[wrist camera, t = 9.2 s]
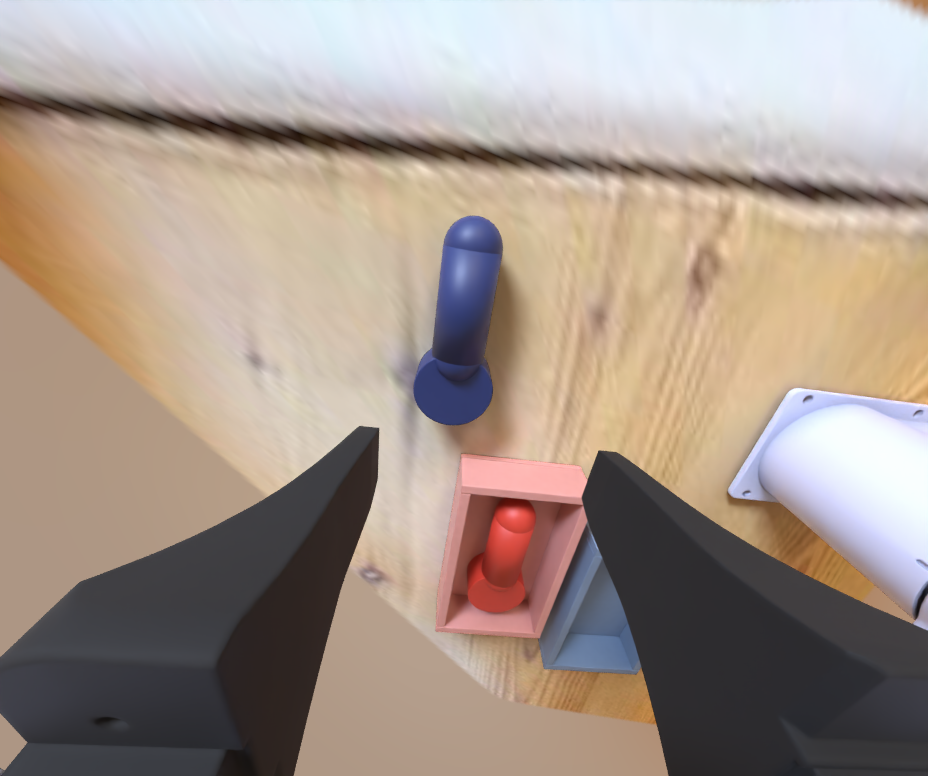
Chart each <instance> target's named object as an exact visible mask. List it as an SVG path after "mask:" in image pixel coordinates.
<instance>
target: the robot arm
mask: <svg viewBox="0 0 928 776" xmlns="http://www.w3.org/2000/svg"><path fill="white" fill-rule="evenodd" d="M378 451H379V428H374V427H364V426H359V427H358V428H356V429H355V430H354V431H353V432H352V433H351V434H350V435H349V436H347V437H346V438H345V439H344V440H343V441H342V442H341V443H339V444H338V445H337V446H336V447H335V448H334V449H333V450H331V451H330V452H329V453H328V454H327V455H325V456H324V457H323V458H322V459H320V460H319V461H318V462H317V463H316V464H314V465H313V466H312V467H310V468H309V469H308V470H306V471H305V472H304V473H302V474H301V475H300V476H298V477H297V478H295V479H294V480H293V481H291V482H290V483H289V484H287V485H286V486H284V487H283V488H281V489H280V490H278V491H277V492H275V493H273V494H272V495H270V496H268V497H267V498H265V499H264V500H262V501H260V502H259V503H257V504H255V505H253V506H252V507H250V508H248V509H246V510H244V511H242V512H240V513H238V514H237V515H235V516H233V517H231V518H229V519H227V520H225V521H223V522H221V523H220V524H218V525H216V526H214V527H212V528H210V529H208V530H205V531H203V532H201V533H199V534H197V535H195V536H193V537H191V538H189V539H186V540H184V541H182V542H179V543H177V544H175V545H173V546H170V547H168V548H166V549H164V550H161V551H159V552H156V553H154V554H151V555H149V556H147V557H144V558H142V559H139V560H136V561H134V562H131V563H129V564H126V565H123V566H121V567H118V568H116V569H113V570H110V571H108V572H105V573H103V574H100V575H97V576H95V577H92V578H89V579H87V580H84V581H81V582H79V583H78V584H77V585H76V586H75V587H74V588H73V589H72V590H70V592H68V594H66V595H65V596H64V597H63V598H62V599H61V600H60V601H59V602H58V603H57V604H56V605H55V606H54V607H53V608H51V609H50V610H49V612H47V613H46V614H45V615H44V616H43V617H42V618H41V619H40V620H39V621H38V622H37V623H36V624H35V625H34V626H33V627H32V628H31V629H29V630H28V631H27V632H26V633H25V634H24V635H23V636H22V637H21V638H20V639H19V640H18V641H17V642H16V643H15V644H14V645H13V646H12V647H11V648H10V649H9V650H8V651H6V652H5V653H4V654H3V655H2V656H1V657H0V713H1V715H2V716H3V717H4V718H5V719H6V720H7V721H8V722H9V723H10V724H11V725H12V726H13V727H14V728H15V729H16V731H17V732H18V733H19V734H20V735H21V736H22V737H23V738H24V739H25V740H26V741H27V742H28V743H27V744H26V745H25V747H24V748H23V749H22V750H21V752H20V753H19V754H18V755H17V756H16V758H15V759H14V760H13V761H12V762H11V764H10V765H9V766H8V767H7V769H6V770H3V769H1V768H0V776H293V775H294V771H295V767H296V763H297V759H298V754H299V751H300V746H301V742H302V738H303V734H304V729H305V725H306V721H307V717H308V713H309V709H310V705H311V701H312V697H313V693H314V689H315V685H316V681H317V677H318V673H319V669H320V665H321V661H322V658H323V653H324V650H325V646H326V642H327V638H328V635H329V631H330V627H331V623H332V619H333V616H334V612H335V608H336V605H337V601H338V597H339V594H340V590H341V587H342V584H343V581H344V578H345V575H346V572H347V570H348V567H349V565H350V562H351V559H352V556H353V554H354V551H355V548H356V546H357V543H358V540H359V538H360V535H361V532H362V530H363V527H364V524H365V522H366V519H367V516H368V514H369V511H370V508H371V504H372V500H373V496H374V492H375V488H376V484H377V479H378ZM728 493H729V494H730V495H731V496H732V497H733V498H739V499H749V500H758V501H768V502H778V503H781V504H782V505H783V506H785V507H786V508H787V509H788V510H789V511H790V512H792V513H793V514H794V515H795V516H796V517H797V518H798V519H800V520H801V521H802V522H803V523H804V524H805V525H806V526H808V527H809V528H810V529H811V530H812V531H813V532H814V533H816V534H817V535H818V536H819V537H820V538H821V539H822V540H824V541H825V542H826V543H827V544H828V545H829V546H830V547H832V548H833V549H834V550H835V551H836V552H837V553H838V554H840V555H841V556H842V557H843V558H844V559H845V560H847V561H848V562H849V563H850V564H851V565H852V566H853V567H855V568H856V569H857V570H858V571H859V572H860V573H861V574H863V575H864V576H865V577H866V578H867V579H868V580H869V581H871V582H872V583H873V584H874V585H875V586H876V587H877V588H879V589H880V590H881V591H882V592H883V593H884V594H886V595H887V596H888V597H889V598H890V599H891V600H892V601H893V602H895V603H896V604H897V605H898V606H899V607H900V608H902V609H903V610H904V611H905V612H906V613H907V614H909V615H910V616H911V617H912V618H913V619H914V620H915V622H914V623H913V624H911V623H909V622H906V621H904V620H902V619H900V618H897V617H895V616H893V615H890V614H888V613H886V612H883V611H881V610H879V609H876V608H874V607H871V606H869V605H867V604H865V603H863V602H861V601H859V600H856V599H854V598H852V597H850V596H848V595H846V594H844V593H842V592H840V591H837V590H835V589H833V588H831V587H829V586H827V585H825V584H823V583H821V582H819V581H817V580H815V579H813V578H811V577H809V576H807V575H805V574H803V573H801V572H799V571H797V570H795V569H794V568H792V567H790V566H788V565H786V564H784V563H782V562H781V561H779V560H777V559H775V558H773V557H771V556H769V555H768V554H766V553H764V552H762V551H761V550H759V549H757V548H755V547H754V546H752V545H750V544H749V543H747V542H745V541H744V540H742V539H740V538H739V537H737V536H735V535H734V534H732V533H731V532H729V531H727V530H726V529H724V528H722V527H721V526H719V525H718V524H716V523H715V522H713V521H712V520H710V519H709V518H707V517H706V516H704V515H703V514H701V513H700V512H699V511H697V510H696V509H694V508H693V507H691V506H690V505H688V504H687V503H686V502H684V501H683V500H681V499H680V498H679V497H677V496H676V495H675V494H673V493H672V492H671V491H669V490H668V489H667V488H665V487H664V486H662V485H661V484H660V483H659V482H657V481H656V480H655V479H653V478H652V477H651V476H649V475H648V474H647V473H645V472H644V471H643V470H641V469H640V468H639V467H637V466H636V465H635V464H633V463H632V462H630V461H629V460H628V459H626V458H625V457H623V456H622V455H620V454H618V453H617V452H609V451H598V454H597V456H596V459H595V462H594V465H593V467H592V470H591V473H590V475H589V478H588V481H587V483H586V486H585V489H584V492H583V494H582V497H581V498H582V502H583V506H584V510H585V514H586V517H587V521H588V524H589V527H590V530H591V532H592V535H593V537H594V539H595V542H596V544H597V547H598V549H599V551H600V554H601V556H602V558H603V561H604V563H605V565H606V568H607V570H608V572H609V575H610V577H611V579H612V582H613V584H614V586H615V589H616V591H617V593H618V596H619V599H620V601H621V604H622V607H623V609H624V612H625V615H626V618H627V621H628V625H629V628H630V631H631V634H632V637H633V640H634V643H635V647H636V650H637V654H638V657H639V660H640V664H641V667H642V671H643V674H644V678H645V681H646V685H647V689H648V692H649V696H650V700H651V704H652V708H653V712H654V716H655V719H656V723H657V727H658V731H659V735H660V739H661V743H662V748H663V753H664V757H665V762H666V766H667V770H668V775H669V776H928V405H925V404H917V403H910V402H902V401H894V400H887V399H879V398H872V397H864V396H856V395H849V394H841V393H834V392H826V391H818V390H811V389H803V388H795V389H792V390H791V391H789V392H788V393H787V394H786V396H785V398H784V399H783V401H782V402H781V404H780V406H779V407H778V409H777V411H776V412H775V414H774V415H773V417H772V419H771V420H770V422H769V424H768V425H767V427H766V428H765V430H764V432H763V433H762V435H761V436H760V438H759V440H758V441H757V443H756V445H755V446H754V448H753V449H752V451H751V453H750V454H749V456H748V457H747V459H746V461H745V462H744V464H743V466H742V467H741V469H740V470H739V472H738V474H737V475H736V477H735V479H734V480H733V482H732V483H731V485H730V487H729V488H728Z"/></svg>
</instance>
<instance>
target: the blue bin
mask: <svg viewBox="0 0 928 776" xmlns="http://www.w3.org/2000/svg"><path fill="white" fill-rule="evenodd" d="M538 641H539V646H540V651H541V657H542V662H543V667H544V669H553V670H570V671H587V672H603V673H620V674H637V673H638V671H639V670H640V668H641V664H640V660H639V657H638V654H637V650H636V647H635V643H634V640H633V637H632V634H631V631H630V628H629V625H628V621H627V618H626V615H625V612H624V609H623V607H622V604H621V601H620V599H619V596H618V593H617V591H616V589H615V586H614V584H613V582H612V579H611V577H610V575H609V572H608V570H607V568H606V565H605V563H604V561H603V558H602V556H601V554H600V551H599V549H598V547H597V544H596V542H595V539H594V537H593V535H592V532H591V530H590V527H589V524H588V521H587V523H586V526H585V528H584V530H583V533H582V535H581V538H580V540H579V543H578V545H577V548H576V550H575V552H574V555H573V557H572V560H571V562H570V565H569V567H568V570H567V572H566V575H565V577H564V579H563V582H562V584H561V587H560V589H559V592H558V594H557V597H556V599H555V601H554V604H553V606H552V609H551V611H550V614H549V616H548V619H547V621H546V623H545V626H544V628H543V631H542V633H541V636H540V638H538Z"/></svg>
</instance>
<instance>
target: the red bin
mask: <svg viewBox="0 0 928 776" xmlns="http://www.w3.org/2000/svg"><path fill="white" fill-rule="evenodd" d="M586 483H587V479H586V477H585V475H584V473H583V471H582V468H581V466H574V465H565V464H556V463H546V462H537V461H528V460H518V459H509V458H500V457H490V456H481V455H472V454H461V459H460V465H459V470H458V476H457V482H456V488H455V494H454V500H453V505H452V511H451V517H450V523H449V529H448V535H447V541H446V546H445V552H444V558H443V564H442V570H441V576H440V582H439V587H438V594H437V613H436V632H450V633H465V634H479V635H494V636H509V637H524V638H540V636H541V633H542V631H543V628H544V626H545V623H546V621H547V619H548V616H549V614H550V611H551V609H552V606H553V604H554V601H555V599H556V597H557V594H558V592H559V589H560V587H561V584H562V582H563V579H564V577H565V575H566V572H567V570H568V567H569V565H570V562H571V560H572V557H573V555H574V552H575V550H576V548H577V545H578V543H579V540H580V538H581V535H582V533H583V530H584V528H585V526H586V523H587V517H586V514H585V510H584V506H583V502H582V498H581V497H582V494H583V492H584V489H585V486H586ZM504 497H506V498H516V499H526V500H528V501H529V502H530V503H531V504H532V506H533V507H534V510H535V513H536V523H535V527H534V530H533V533H532V536H531V539H530V543H529V546H528V549H527V552H526V555H525V558H524V561H523V564H522V568H521V570H522V576H523V581H524V587H525V597H524V599H523V601H522V602H521V603H520V604H519V605H518V606H516V607H515V608H513V609H510V610H507V611H503V612H486V611H482V610H480V609H478V608H476V607H474V606H473V605H472V604H471V603H470V601H469V599H468V587H467V567H468V564H469V562H470V561H471V560H472V559H473V558H474V557H475V556H477V555H479V554H481V553H484V552H485V548H486V544H487V540H488V536H489V532H490V528H491V524H492V520H493V515H494V511H495V508H496V506H497V504H498V503H499V501H500V500H501V499H503V498H504Z"/></svg>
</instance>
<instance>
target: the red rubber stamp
mask: <svg viewBox="0 0 928 776" xmlns="http://www.w3.org/2000/svg"><path fill="white" fill-rule="evenodd" d="M535 523H536V513H535V510H534V507H533V506H532V504H531V503H530V502H529V501H528V500H526V499H516V498H506V497H504V498H503V499H501V500H500V501H499V503H498V504H497V506H496V508H495V511H494V515H493V520H492V524H491V528H490V532H489V536H488V540H487V544H486V548H485V552H484V553H481V554H479V555H477V556H475V557H474V558H473V559H472V560H471V561H470V562H469V564H468V567H467V587H468V599H469V601H470V603H471V604H472V605H473V606H474V607H476V608H478V609H480V610H482V611H486V612H503V611H507V610H510V609H513V608H515V607H516V606H518V605H519V604H520V603H521V602H522V601H523V599H524V597H525V587H524V581H523V576H522V570H521V568H522V564H523V561H524V558H525V555H526V552H527V549H528V546H529V543H530V539H531V536H532V533H533V530H534V527H535Z"/></svg>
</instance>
